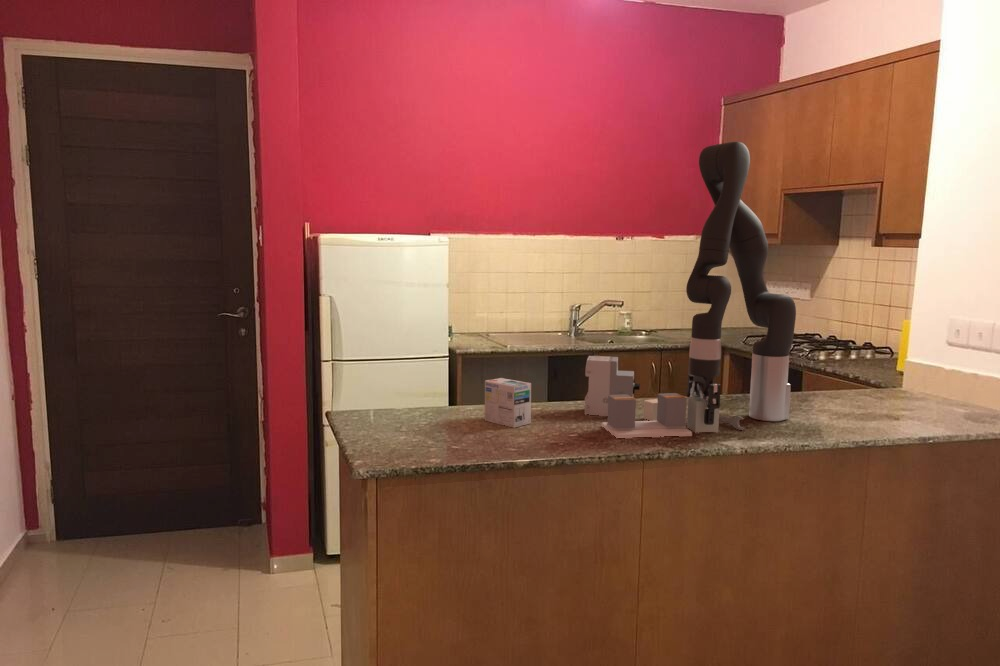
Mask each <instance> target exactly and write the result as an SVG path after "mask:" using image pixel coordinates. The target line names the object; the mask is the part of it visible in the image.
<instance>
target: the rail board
mask: <svg viewBox="0 0 1000 666" xmlns="http://www.w3.org/2000/svg"><path fill="white" fill-rule="evenodd" d="M657 399H658V405H657V421H648V420H636V410H637V409H636V407H637V404H636V403H637V402H636V401H637V400H636V398H635V397H634V396H633V397H631V396H629V395H628V394H626V395H608V417H607V419H606V420H607V422H606V421H603V422H601V427H602V428H603V427H604V428H605V429H604V428H603V429H604V430H606V431H607V432H608V431H609V432H610V433H611V435H612V436H613V435H614V436H615V437H616V438H615V437H614V436H613V437H614V438H615V439H617V438H625V439H633V438H632V437H652V438H665V437H664V436H679V437H693V431H691V430H689V429H688V428H687V424H686V422H687V421H686V419H687V417H686V415H687V399H688V397H686V396H685V395H681V394H679V393H677V392H672V393H671V392H670V393H669V392H667V393H657ZM609 432H608V433H609ZM610 433H609V434H610ZM660 436H661V437H660Z"/></svg>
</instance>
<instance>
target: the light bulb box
mask: <svg viewBox="0 0 1000 666" xmlns="http://www.w3.org/2000/svg"><path fill="white" fill-rule="evenodd" d="M531 410H532V383H531V382H526V381H521V380H514V379H508V378H504V377H499V378H494V379H486V380H484V421H485V422H489V423H493V424H497V425H500V426H504V425H505V427H510V428H518V427H523V426H526V425H530V424H531V420H532V419H531V418H532V416H531V415H532V411H531Z"/></svg>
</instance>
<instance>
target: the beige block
mask: <svg viewBox="0 0 1000 666" xmlns="http://www.w3.org/2000/svg"><path fill="white" fill-rule="evenodd" d="M657 405H658V398H655V399H645V400H644V401H643V420H646V419H647V420H646V421H648V420H650V421H657Z"/></svg>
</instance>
